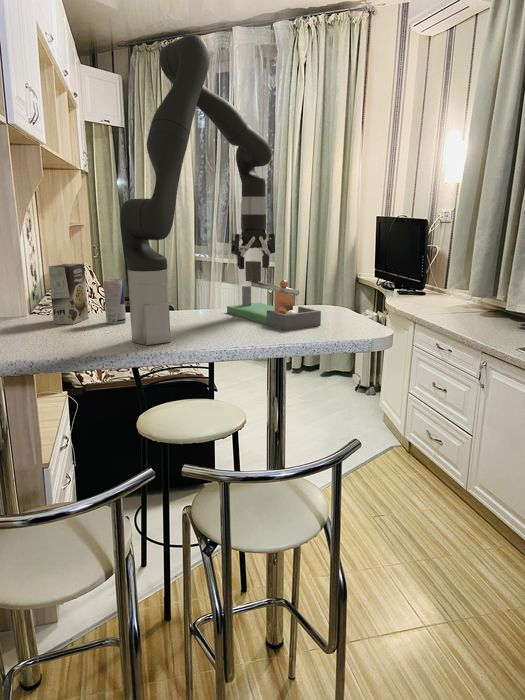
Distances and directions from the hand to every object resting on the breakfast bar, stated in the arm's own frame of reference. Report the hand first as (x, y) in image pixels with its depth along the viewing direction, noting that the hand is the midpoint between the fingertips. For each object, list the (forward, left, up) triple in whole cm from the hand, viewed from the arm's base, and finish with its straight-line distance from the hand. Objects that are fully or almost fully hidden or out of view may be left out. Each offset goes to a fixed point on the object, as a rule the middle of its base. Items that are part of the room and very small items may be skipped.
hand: (253, 268), depth 158 cm
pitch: (-9, 0, -14) cm, 17 cm away
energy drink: (+10, +40, -14) cm, 44 cm away
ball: (-19, 0, -12) cm, 23 cm away
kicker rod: (-10, 0, -11) cm, 15 cm away
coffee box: (+19, +50, -14) cm, 55 cm away
